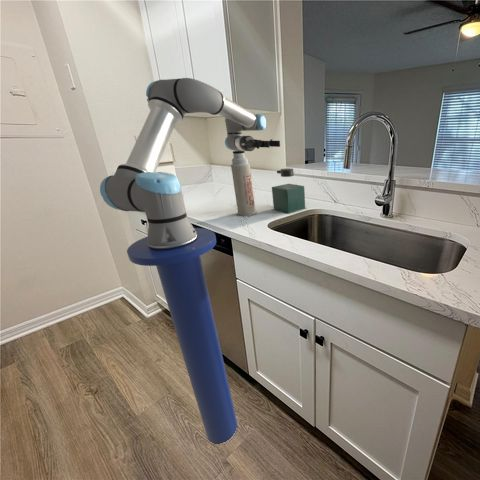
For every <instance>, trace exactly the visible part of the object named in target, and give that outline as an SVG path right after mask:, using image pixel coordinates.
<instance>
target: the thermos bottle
mask: <svg viewBox="0 0 480 480" xmlns="http://www.w3.org/2000/svg"><path fill="white" fill-rule="evenodd" d="M245 152H246V151H245ZM245 152H244V151H234V150H232V156H233V158H232V159H231V163H232V164H230V168H231V173H232V174H231V176H232V182H233V189H234V194H235V202H236V209H237V215H238V216H241V217H246V216H247V217H248V216H253V215H255V214H256V205H255V204H256V203H255V196H254V187H253V179H252V172H251V164H250V163H249V160H248V158H247V157H246V154H245Z"/></svg>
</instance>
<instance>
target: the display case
mask: <svg viewBox="0 0 480 480" xmlns="http://www.w3.org/2000/svg"><path fill="white" fill-rule="evenodd" d="M138 136H139V135H134V137H133V138H134V140H135V142H136V141H137V139H138ZM169 141H170V140H168V143H167V145H166V148H165V150H164V152H163V155H162V157H161V160H160V162H159V164H158V167H157V169H156V172H165V173H170V174H173V175H175V176H176V177H177V172H176V169H175V163H174V159H173V155H172V151H171V147H170V146H171V145H170V142H169ZM177 178H178V177H177Z"/></svg>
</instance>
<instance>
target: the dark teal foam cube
mask: <svg viewBox="0 0 480 480" xmlns="http://www.w3.org/2000/svg"><path fill="white" fill-rule="evenodd" d="M305 191H306V190H305V185H300V184H294V183H285V184H280V185H275V186H271V194H272V205H273V210H275V211H279V212H282V213H286V214H291V213H294V212H297V211H301V210H304V209H306V196H305V193H306V192H305Z"/></svg>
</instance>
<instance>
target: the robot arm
mask: <svg viewBox="0 0 480 480" xmlns="http://www.w3.org/2000/svg"><path fill="white" fill-rule="evenodd" d="M145 96H146V97H147V98H146V101H147V106H148V108H149V110H150V111H149V113H148V115H147V117H146V119H145V122H144V124H143V126H142V127H141V130H140V132H139V134H138V135H137V136H138V139H137V141H136V140H135V143H134V145H133V147H132V149H131V151H130V154H129V156H128V158H127V160H126V162H125V163H122V164H119V165H118V166H117V168H116V170H115V172H114V174H113V175H112V174H111V175H109V176H106V177H105V178H103V179H102V180H101V182H100V185H99V193H100V196H101V197H102V199H103V201H104V203H106V205H107V206H109V207H110V208H112V209H114V210H119V211H123V212H139V213H145V216H146V220H147V224H148V227H147V236H148V238H147V243H148V246H149V248H150V249H153V250H171V249H177V248H181V247H184V246H187V245H189V244H191V243H193V242H195V241H196V240H197V238H198V237H197V233H196V231H195V229H194V228H195V227H194V226H193V224H192V222H191V221H190V220H189V217H188V215H187V210H186V205H185V200H184V196H183V191H182V190H183V189H182V186H181V184H180V181H179V178H178V177H176V176H177V175H176V176H175V175H173V174H170V173H165V172H156V169H157V167H158V164H159V162H160V160H161V157H162V155H163V152H164V150H165V148H166V145H167V143H168V141H170V138H171V135H172V133H173V130H174V129H175V126H176V125H179V124H181V123H182V122H183V119H184V116H185V115H186V114H196V113H197V114H198V113H205V114H206V113H207V114H210V115H212V116H217V115H218V116H221V117H223V118H224V122H225V123H224V124H225V127H226V129H225V130H226V138H225V140H224V145H225V147H226V148H227V150H230V151H244V152H253V151H255V149H260V148H268V149H269V148H271V147H272V148H275V147H277V148H279V147H281V140H273V138H270V140H262V139H256V138H254V137H253V136H252V135H243V133H242V132H243V131H247V132H250V131H265V130H266V128H267V120H266V117H265V115H264V114H260V113H257V114H255V113H254V112H251V111H250V110H248V109H246V108H245V107H243V106H241V105H239V104H238V103H236V102H234V101H233V100H231V99H229V98H227V97H225V96H224V94H223V93H222V91H220V89H217V88H215V87H214V86H211V85H210V84H207V83H205V82H203V81H201V80H198V79H195V78H192V77H182V78H170V79H169V78H168V79H158V80H154V81H152V82H150V83H149V84H148V86H147V87H146V92H145Z"/></svg>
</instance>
